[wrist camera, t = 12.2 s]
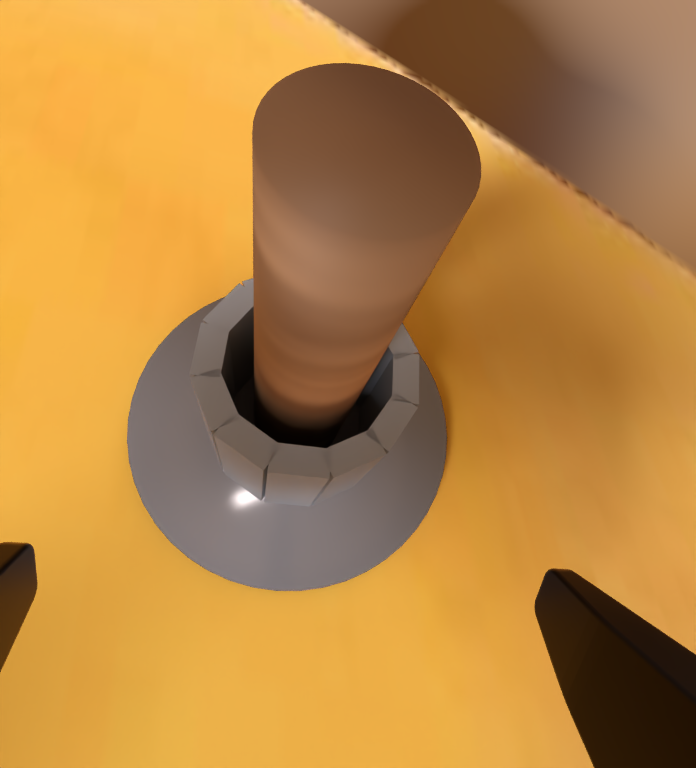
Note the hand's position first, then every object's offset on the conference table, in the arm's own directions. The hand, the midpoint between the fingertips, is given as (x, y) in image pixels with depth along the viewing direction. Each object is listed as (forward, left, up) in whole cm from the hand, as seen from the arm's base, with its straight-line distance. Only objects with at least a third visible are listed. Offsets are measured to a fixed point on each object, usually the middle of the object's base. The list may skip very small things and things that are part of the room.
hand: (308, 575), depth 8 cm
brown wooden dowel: (+3, -5, -8) cm, 10 cm away
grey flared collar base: (+3, -5, -9) cm, 10 cm away
